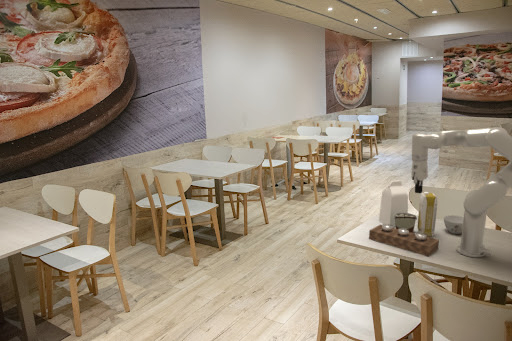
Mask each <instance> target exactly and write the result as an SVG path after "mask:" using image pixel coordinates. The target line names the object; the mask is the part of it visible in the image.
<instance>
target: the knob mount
mask: <svg viewBox="0 0 512 341" xmlns="http://www.w3.org/2000/svg"><path fill="white" fill-rule="evenodd" d="M382 225H383V224H379V225H377V226H374V227H373V228H371V229H369V234H368V239H369V240H371V241H375V242H378V243H382V244H385V245H388V246H391V247H392V246H393V247H395V248H399V249H402V250H405V251H407V252H408V251H409V252H411V253H416V254H419V255H422V256H426V257H430V256H431V255H432V254H434V253H435V252H437V251H438V250H439V245H440V239H437V238H433V237H431V236H426V240H425V241H424V242H420V241H417V240H416V239H415V233H416V232H413V233H411V232H409V235H408V236H407V237H402V236H399V235H398V229H396V227H392V231H391V232H390V233H387V232H384V231H383V230H382Z"/></svg>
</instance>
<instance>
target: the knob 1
mask: <svg viewBox="0 0 512 341" xmlns="http://www.w3.org/2000/svg"><path fill="white" fill-rule="evenodd" d="M381 225H382V230H383V231H384V232H387V233H390V232H391V231H392V228H393V227H392V225H390V224H383V223H382V224H381Z"/></svg>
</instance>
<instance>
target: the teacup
mask: <svg viewBox="0 0 512 341" xmlns="http://www.w3.org/2000/svg"><path fill="white" fill-rule="evenodd" d="M463 219H464V216H460V215H449V214H448V215H445V216H444V217H443V223H444V226H445V228H446V230H447V231H448V232H449V233H451V234H453V235H460V234H462V227H463Z"/></svg>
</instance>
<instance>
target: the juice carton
mask: <svg viewBox="0 0 512 341" xmlns="http://www.w3.org/2000/svg"><path fill="white" fill-rule="evenodd" d="M437 210H438V196H436V195H435V194H434V192H428V191H424V192H422V193H420V196H419V203H418V214H417V215H418V216H417V233H418V232H420V233H425V234H426V237H430V238H433V237H434V235H435V230H436V220H437Z"/></svg>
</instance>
